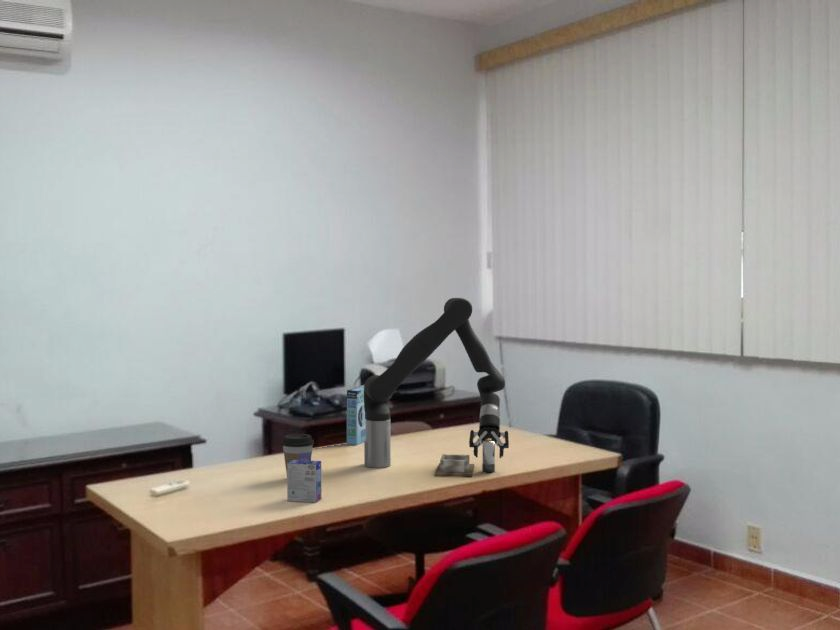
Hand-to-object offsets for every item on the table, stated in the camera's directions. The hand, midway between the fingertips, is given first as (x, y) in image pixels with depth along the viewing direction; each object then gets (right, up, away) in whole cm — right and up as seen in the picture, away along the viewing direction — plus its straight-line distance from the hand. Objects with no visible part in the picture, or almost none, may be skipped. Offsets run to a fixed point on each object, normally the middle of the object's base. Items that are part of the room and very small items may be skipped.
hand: (488, 456), depth 307 cm
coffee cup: (-67, -6, -10) cm, 68 cm away
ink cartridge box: (-61, -8, -37) cm, 71 cm away
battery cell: (0, -6, +2) cm, 6 cm away
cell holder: (-12, -6, +2) cm, 13 cm away
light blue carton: (-50, -3, +58) cm, 76 cm away
